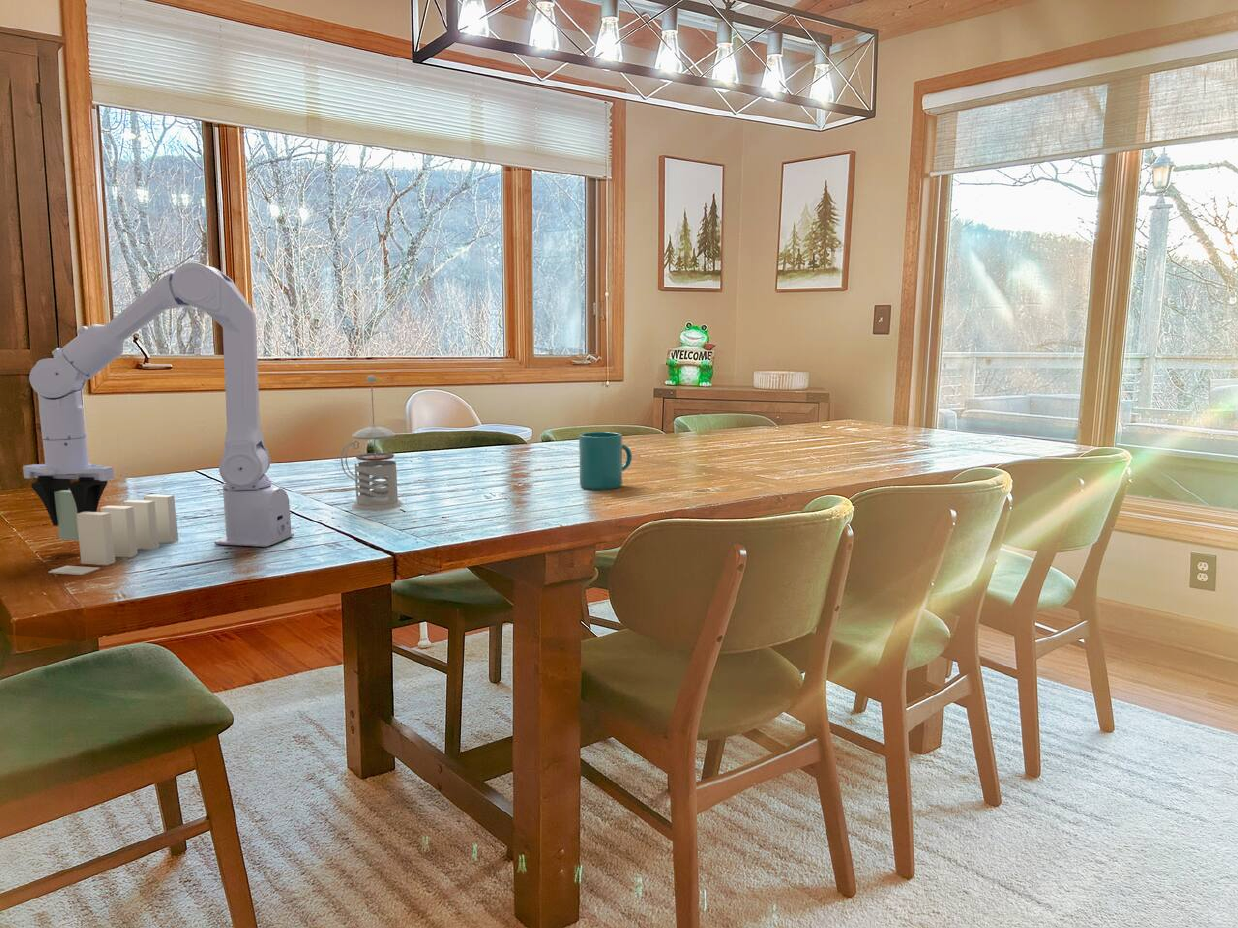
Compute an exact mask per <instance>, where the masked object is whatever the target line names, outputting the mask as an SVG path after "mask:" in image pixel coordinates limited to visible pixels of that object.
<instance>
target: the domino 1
mask: <svg viewBox="0 0 1238 928" xmlns="http://www.w3.org/2000/svg"><path fill="white" fill-rule="evenodd" d="M54 496H55V504H56V513H57V520H58V526H57V529H58V538H59V540H60V541H61V540H67V541H79V535H78V525H77V515H76V514H78V513H77V507H76V503H75V500H74V497H73V495H72V493H71V491H70V489H69V490H60V491H56V492H54Z"/></svg>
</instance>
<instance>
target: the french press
mask: <svg viewBox="0 0 1238 928" xmlns="http://www.w3.org/2000/svg"><path fill="white" fill-rule="evenodd" d="M365 382H366V383H370V385H371V386H370V388H371V409H372V411H371V412H372V425H371V426H367V427H364V428H361V429H358V430H357V431H356V432H355V433H353V434H352V435H351V436H352V437H353V439H356V440H354V441H351V442H350V443H348V444H346V445H345V446H344V447H343V449H342V451H341V455H340V464H341V467H342V470H343V472H344V474H345V475H346V476H347V477H348V478H350V479H352V480H353V481H354V483H355V487H354V488H355V497H356V499H355V502H353V504H352V505H351V508H352V509H353V510H356V511H357V510H358V511H366V512H367V511H384V510H385V511H386V510H392V509H397V508H400V507H402V506H403V505H404V503H403V501H402V500H401V499H399V498H398V477H397V476H398V475H397V472H398V471H397V462H396V461H394V460H393V461H392V460H391V459H393V458H394V457H395V454H394V453H390V452H376V450H377V449H376V440H389V439H392V438H395V437H396V435H397V433H395V432H393V430H390V429H388V428H386V427H383V426H382V427H381V426H377V425H375V414H374V413H375V412H374V395H373V394H374V393H373V382H374V383H375V382H377V378H376V376H374V375H368V376H367V377H366V381H365ZM357 440H373V446H374V452H369V453H367V452H366V453H361V454H357V455H355V459H357V460H359V462H358V465H357V463H354V473H353V472H352V471H351V470H350V467H349V464H348V460H347V459H348V457H347V455H348V451H349V449H350V447H351V446H352V445H353V446H352V447H353V449H354V450H357V449H358V448H360V442H359V441H357ZM356 443H357V447H356ZM346 448H347V449H346ZM345 450H346V451H345ZM344 452H345V455H344ZM343 455H344V457H345V466H346V469H347V471H348V473H350V474H351V475H352V476H350V475H349V474H348V473H347V471H346V469H345V467H344V464H343V463H344V461H343ZM370 476H372V477H370ZM353 477H354V478H353ZM380 479H381V480H380ZM382 480H384V481H382ZM371 483H372V484H371ZM378 486H384V487H378ZM358 487H359V488H358Z"/></svg>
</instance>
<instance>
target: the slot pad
mask: <svg viewBox="0 0 1238 928" xmlns="http://www.w3.org/2000/svg"><path fill="white" fill-rule="evenodd" d="M100 569H101V568H100V567H94V566H92V567H91V566H80V565H79V566H78V565H77V566H76V565H64V566H62V567H58V568H55V569H52V570H50V571H48V574H57V575H58V574H60V575H74V576H75V575H76V576H83V575H86V574H90V573H92V572H95V571H98V570H100Z"/></svg>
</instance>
